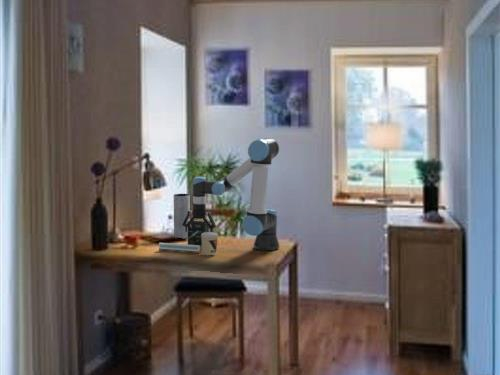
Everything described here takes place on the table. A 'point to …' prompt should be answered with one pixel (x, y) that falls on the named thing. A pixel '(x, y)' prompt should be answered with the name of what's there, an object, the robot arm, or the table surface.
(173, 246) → the price rail
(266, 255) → the table surface
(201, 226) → the tampon box
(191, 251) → the shelf board
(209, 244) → the coffee cup
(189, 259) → the table surface
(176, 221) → the vase
